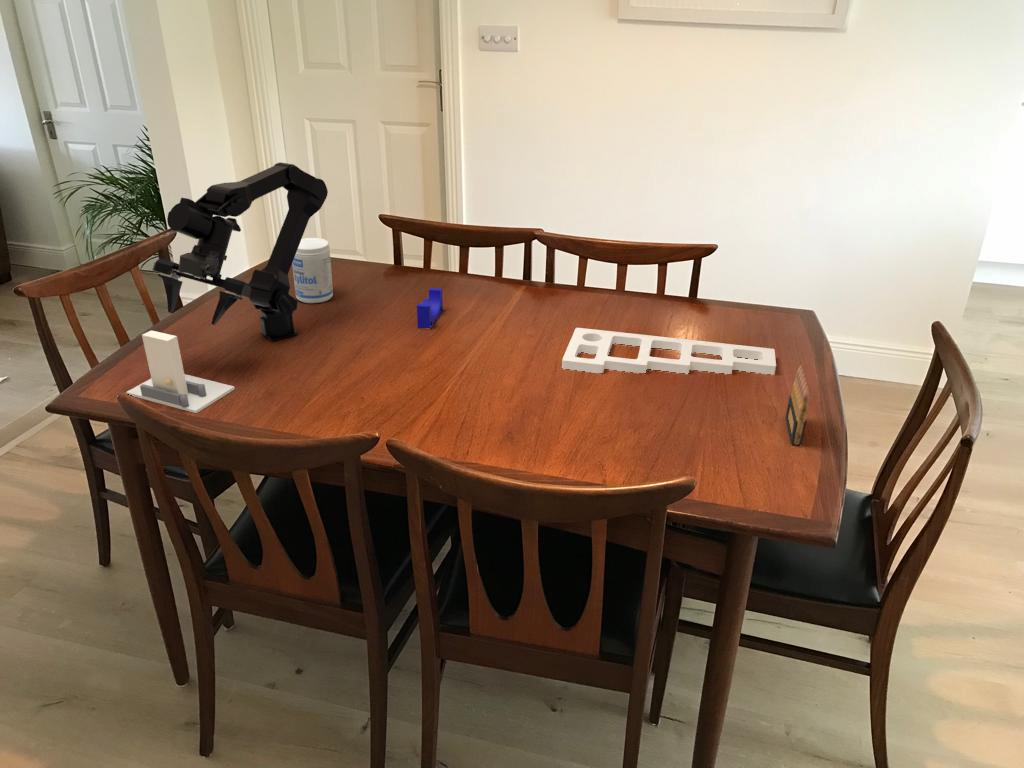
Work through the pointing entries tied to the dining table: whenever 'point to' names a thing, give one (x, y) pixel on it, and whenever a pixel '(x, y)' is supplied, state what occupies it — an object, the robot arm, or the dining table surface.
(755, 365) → the holder
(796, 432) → the tan blue flat packet
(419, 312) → the blue u-shaped block
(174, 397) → the slotted base plate
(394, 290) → the dining table surface
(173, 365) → the door panel
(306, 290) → the supplement tub
